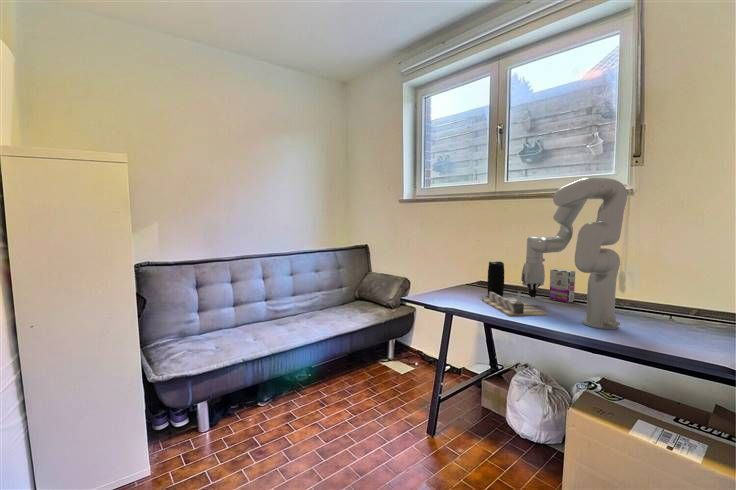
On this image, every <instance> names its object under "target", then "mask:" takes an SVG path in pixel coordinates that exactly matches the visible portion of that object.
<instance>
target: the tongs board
mask: <svg viewBox="0 0 736 490" xmlns="http://www.w3.org/2000/svg"><path fill="white" fill-rule="evenodd" d="M481 301H482V302H484V303H486V304H487V305H489V306H491V307H492V308H493V309H496V310H497V311H499V312H501V313H502V314H504V315H506V316H507V317H532V316H533V317H534V316H535V317H536V316H537V317H538V316H539V317H540V316H543V317H544V316H548V312H546V311H543V310H542V309H539V308H538V307H535V306H533V305H530V304H529V303H527V302H524V301H522V300H520V303H516V301H517V297H516V298H515V297H504V296H503V297H502V296H500V295H498V294H495V293H493V292H489V296H488V298H481Z"/></svg>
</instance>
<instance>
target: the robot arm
mask: <svg viewBox="0 0 736 490" xmlns="http://www.w3.org/2000/svg"><path fill="white" fill-rule="evenodd" d="M588 200H602V203H601V204H600V205H599V208H598V210H597V215H596V219H595V221H590V222H587V223H585V224H584V225H582V226H581V227H580V229H579V230H578V233H577V238H576V243H575V251H574V264H575V265H574V266H575V267H576V269H577V270H578V271H579V272H581V273H583V274H584V273H585V274H589V276H588V280H587V291H586V293H587V295H586V311H585V312H586V313H585V314H586V315H585V317H583V318H581V324H583V325H585V326H587V327H591V328H595V329H602V330H616V329H618V328H619V326H620V325H621V322H619V321H617V317H616V316H615V310H616V309H615V307H616V290H617V280H618V279H617V278H618V274H619V273H618V272H619V270H620V266H621V258H620V255H619V253H617V252H616V251H615V250H614V249H610V248H606V247H605V246H613V245H615V244H617V243H618V242H619V241H620V237H621V234H622V226H623V221H624V214H625V209H626V205H627V200H628V190H627V188H626V186H625V185H624V184H623V182H621V181H619V180H616V179H613V178H607V177H583V178H580V179H578V180H575V181H574V182H571V183H569V184H566V185H564V186H562V187H560V188H558V189H557V190H556V191H555V193H554V195H553V197H552V201H553V203H554V205H555V206H556V207H557V209H556V211H555V212H554V214H553V220H554V221H555V222H556V223H557V224H559V225H560V226H559V230H558V232H557V234H556V235H555V236H548V237H547V236H546V237H543V236H537V235H533V236H532V235H531V236H530V235H529V236H528V237H527V239H526V256H525V262H523V263H524V264H523V266H522V271H521V279H520V280H521V282H522V285H523V286H525V287H527V288H528V295H529V297H530V298H536V297H537V291H538V289H539V287H540V286H541V287H542V286H544V284H545V281H546V279H545V277H546V275H545V274H546V271H545V265H544V263H543V262H545V261H546V260H545V259H546V258H544V254H551V253H560V252H562V251H564V250H565V249H566V248H567V246H568V245H569V243H570V242H571V240H572V238H573V236H574V235H573V234H574V226H573V223H574V222H575V220H576V219H577V217H578V216H579V214H580V212H581V211H582V209H583V207H584V206H585V204H586V203H587V202H588ZM604 247H605V248H604Z"/></svg>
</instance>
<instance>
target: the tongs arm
mask: <svg viewBox="0 0 736 490" xmlns="http://www.w3.org/2000/svg"><path fill="white" fill-rule="evenodd" d="M521 294H522V293H521V292H520V291H519V292H517V295H516V299H517V301H516V303H520V301H521Z"/></svg>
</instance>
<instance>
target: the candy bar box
mask: <svg viewBox="0 0 736 490" xmlns="http://www.w3.org/2000/svg"><path fill="white" fill-rule="evenodd" d="M549 276H550V277H549V298H551V299H550V300H553V299H555V300H554V301H557V300H559V301H558V302H563V303H567V304H569V303H570V302H571V303H574V302H575V287H576V286H575V284H576V271H575V270H567V269H562V268H561V269H560V268H551V269H550V274H549ZM573 301H574V302H573Z"/></svg>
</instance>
